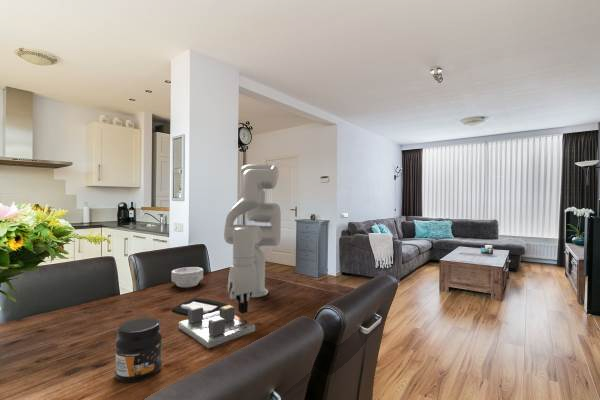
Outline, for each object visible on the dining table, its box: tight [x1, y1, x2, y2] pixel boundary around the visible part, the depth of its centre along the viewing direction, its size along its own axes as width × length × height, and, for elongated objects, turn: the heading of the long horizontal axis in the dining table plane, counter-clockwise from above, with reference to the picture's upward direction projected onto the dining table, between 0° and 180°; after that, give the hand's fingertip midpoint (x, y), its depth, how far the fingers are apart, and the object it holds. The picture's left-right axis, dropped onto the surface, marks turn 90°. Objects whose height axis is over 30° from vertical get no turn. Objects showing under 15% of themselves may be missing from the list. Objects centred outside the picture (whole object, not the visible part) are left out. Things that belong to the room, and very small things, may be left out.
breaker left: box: [187, 306, 203, 323], centre depth 105 cm, size 3×4×4 cm
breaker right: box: [208, 317, 225, 336], centre depth 95 cm, size 3×4×4 cm
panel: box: [178, 311, 256, 349], centre depth 103 cm, size 20×17×2 cm
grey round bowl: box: [171, 266, 204, 288], centre depth 155 cm, size 15×15×8 cm
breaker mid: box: [220, 304, 235, 322], centre depth 105 cm, size 3×4×4 cm
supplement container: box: [114, 317, 163, 383], centre depth 77 cm, size 10×10×12 cm
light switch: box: [171, 297, 228, 317], centre depth 121 cm, size 20×3×14 cm
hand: (243, 312), depth 110 cm, fingers closed
